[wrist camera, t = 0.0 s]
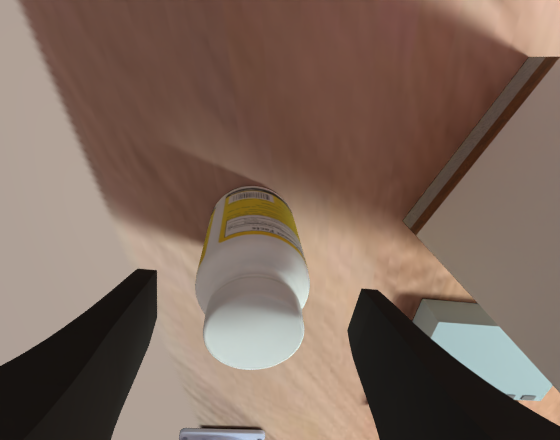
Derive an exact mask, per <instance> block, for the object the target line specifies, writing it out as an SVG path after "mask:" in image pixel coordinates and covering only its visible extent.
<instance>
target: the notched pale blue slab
mask: <svg viewBox="0 0 560 440" xmlns="http://www.w3.org/2000/svg"><path fill="white" fill-rule="evenodd" d="M412 322H413V323H414V324H415V325H417V326H418V327H419V328H420V329H421V330H422V331H423V332H424V333H425V334H427V335H428V336H429V337H430V338H431V339H432V340H433V341H435V342H436V343H437V344H438V345H439V346H441V347H442V348H443V349H444V350H445V351H447V352H448V353H449V354H450V355H452V356H453V357H454V358H455V359H457V360H458V361H459V362H461V363H462V364H463V365H465V366H466V367H467V368H469V369H470V370H471V371H473V372H474V373H475V374H477V375H478V376H480V377H481V378H482V379H484V380H485V381H487V382H488V383H490V384H491V385H493V386H494V387H495V388H497V389H499V390H500V391H502V392H503V393H505V394H506V395H508V396H509V397H511V398H512V399H514V400H533V401H541V400H542V398H543V397H544V396H545V395H546V393H547V392H548V391H549V390H550V388H551V387H552V386H553V385H552V384H551V383H550V381H549V380H548V379H547V378H546V377H545V376H544V375H543V374H542V373H541V372H540V371H539V369H538V368H537V367H536V366H535V365H534V364H533V363H532V362H531V361H530V360H529V359H528V357H527V356H526V355H525V354H524V353H523V352H522V351H521V350H520V349H519V348H518V347H517V345H516V344H515V343H514V342H513V341H512V340H511V339H510V338H509V337H508V336H507V335H506V333H505V332H504V331H503V330H502V329H501V328H500V327H499V326H498V325H497V324H496V322H495V321H494V320H493V319H492V318H491V317H490V316H489V315H488V314H487V313H486V312H485V310H484V309H483V308H482V307H481V306H480V305H479V304H478V303H466V302H454V301H443V300H431V299H422V301H421V303H420V306H419V308H418V310H417V312H416V314H415V317H414V319H413V321H412Z"/></svg>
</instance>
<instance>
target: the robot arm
mask: <svg viewBox="0 0 560 440" xmlns="http://www.w3.org/2000/svg"><path fill="white" fill-rule="evenodd" d="M156 319H157V270H146V269H137V270H135V271H134V272H133V273H132V274H131V275H129V276H128V277H127V278H126V279H125V280H124V281H122V282H121V283H120V284H119V285H118V286H117V287H115V288H114V289H113V290H112V291H111V292H109V293H108V294H107V295H106V296H104V297H103V298H102V299H101V300H100V301H98V302H97V303H96V304H94V305H93V306H92V307H91V308H89V309H88V310H87V311H85V312H84V313H83V314H81V315H80V316H79V317H77V318H76V319H75V320H73V321H72V322H70V323H69V324H68V325H66V326H65V327H64V328H62V329H61V330H59V331H58V332H56V333H55V334H53V335H52V336H50V337H49V338H48V339H46V340H44V341H43V342H41V343H39V344H38V345H36V346H35V347H33V348H31V349H30V350H28V351H27V352H25V353H23V354H21V355H20V356H18V357H16V358H14V359H13V360H11V361H9V362H7V363H5V364H3V365H2V366H0V440H111V437H112V434H113V431H114V428H115V425H116V423H117V420H118V417H119V415H120V412H121V410H122V407H123V405H124V402H125V400H126V398H127V396H128V393H129V391H130V389H131V386H132V384H133V381H134V379H135V377H136V375H137V372H138V370H139V367H140V365H141V363H142V360H143V358H144V356H145V353H146V351H147V348H148V346H149V343H150V340H151V336H152V333H153V329H154V326H155V322H156ZM347 331H348V336H349V342H350V347H351V351H352V356H353V360H354V363H355V366H356V369H357V372H358V375H359V378H360V381H361V383H362V386H363V389H364V392H365V395H366V398H367V401H368V404H369V407H370V410H371V413H372V415H373V418H374V422H375V425H376V428H377V432H378V435H379V439H380V440H560V426H558V425H556V424H555V423H553V422H551V421H549V420H547V419H546V418H544V417H542V416H540V415H539V414H537V413H535V412H534V411H532V410H530V409H529V408H527V407H525V406H524V405H522V404H520V403H519V402H517V401H516V400H514V399H512V398H511V397H509V396H508V395H506V394H505V393H503V392H502V391H500V390H499V389H497V388H495V387H494V386H493V385H491V384H490V383H488V382H487V381H485V380H484V379H482V378H481V377H480V376H478V375H477V374H475V373H474V372H473V371H471V370H470V369H469V368H467V367H466V366H465V365H463V364H462V363H461V362H459V361H458V360H457V359H455V358H454V357H453V356H452V355H450V354H449V353H448V352H447V351H445V350H444V349H443V348H442V347H441V346H439V345H438V344H437V343H436V342H435V341H433V340H432V339H431V338H430V337H429V336H428V335H427V334H425V333H424V332H423V331H422V330H421V329H420V328H419V327H418V326H417V325H415V324H414V323H413V322H412V321H411V320H410V319H409V318H408V317H407V316H406V315H405V314H404V313H402V312H401V311H400V310H399V309H398V308H397V307H396V306H395V305H394V304H393V303H392V302H391V301H390V300H388V299H387V298H386V297H385V296H384V295H383V294H382V293H381V292H379V291H378V290H372V289H361V292H360V295H359V298H358V301H357V304H356V307H355V310H354V312H353V315H352V318H351V321H350V324H349V327H348V330H347ZM264 439H265V432H264V431H263V430H242V429H202V428H183V429H182V430H181V431H180V435H179V440H264Z"/></svg>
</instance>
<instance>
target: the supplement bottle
mask: <svg viewBox="0 0 560 440" xmlns="http://www.w3.org/2000/svg"><path fill="white" fill-rule="evenodd" d="M309 288H310V280H309V274H308V269H307V265H306V261H305V258H304V254H303V251H302V247H301V243H300V240H299V236H298V232H297V229H296V225H295V222H294V218H293V215H292V212H291V210H290V208H289V206H288V205H287V203H286V202H285V201H284V199H283V198H282V197H280V196H279V195H278V194H277V193H275V192H273V191H272V190H269V189H267V188H264V187H259V186H245V187H240V188H237V189H234V190H232V191H230V192H229V193H227V194H226V195H224V196H223V197H222V198H221V199H220V200H219V201H218V203H217V204H216V206H215V207H214V209H213V212H212V214H211V218H210V221H209V225H208V230H207V234H206V238H205V242H204V246H203V250H202V254H201V259H200V262H199V267H198V271H197V275H196V284H195V290H196V297H197V300H198V303H199V305H200V307H201V309H202V310H203V312H204V313H205V321H204V328H203V338H204V342H205V345H206V347H207V349H208V351H209V352H210V353H211V354H212V355H213V356H214V357H215V358H216V359H217V360H218V361H220V362H222V363H223V364H226V365H228V366H231V367H234V368H238V369H244V370H257V369H264V368H269V367H272V366H275V365H277V364H279V363H281V362H283V361H285V360H286V359H288V358H289V357H291V356H292V355H293V354H294V353H295V352H296V350H297V349H298V348H299V346H300V344H301V342H302V340H303V336H304V323H303V317H302V308H303V307H304V305H305V303H306V301H307V298H308V294H309Z"/></svg>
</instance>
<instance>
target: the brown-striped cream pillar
mask: <svg viewBox="0 0 560 440" xmlns="http://www.w3.org/2000/svg"><path fill="white" fill-rule="evenodd" d="M403 222H404V223H405V224H406V225H407V226H408V227H409V229H410V230H411V231H412V232H413V233H414V234H415V235H416V236H417V237H418V238H419V239H420V241H421V242H422V243H423V244H424V245H425V246H426V247H427V248H428V249H429V250H430V251H431V253H432V254H433V255H434V256H435V257H436V258H437V259H438V260H439V261H440V262H441V263H442V265H443V266H444V267H445V268H446V269H447V270H448V271H449V272H450V273H451V274H452V275H453V277H454V278H455V279H456V280H457V281H458V282H459V283H460V284H461V285H462V286H463V288H464V289H465V290H466V291H467V292H468V293H469V294H470V295H471V296H472V297H473V298H474V300H475V301H476V302H477V303H478V304H479V305H480V306H481V307H482V308H483V309H484V310H485V312H486V313H487V314H488V315H489V316H490V317H491V318H492V319H493V320H494V321H495V322H496V324H497V325H498V326H499V327H500V328H501V329H502V330H503V331H504V332H505V333H506V335H507V336H508V337H509V338H510V339H511V340H512V341H513V342H514V343H515V344H516V345H517V347H518V348H519V349H520V350H521V351H522V352H523V353H524V354H525V355H526V356H527V357H528V359H529V360H530V361H531V362H532V363H533V364H534V365H535V366H536V367H537V368H538V369H539V371H540V372H541V373H542V374H543V375H544V376H545V377H546V378H547V379H548V380H549V381H550V383H551V384H552V385H553V386H554V387H555V388H556V389H557V390H558V391H559V392H560V57H529V58H528V59H527V60H526V62H525V63H524V64H523V66H522V67H521V68H520V69H519V71H518V72H517V73H516V75H515V76H514V77H513V79H512V80H511V81H510V82H509V84H508V85H507V86H506V88H505V89H504V90H503V91H502V93H501V94H500V95H499V97H498V98H497V99H496V101H495V102H494V103H493V104H492V106H491V107H490V108H489V110H488V111H487V112H486V113H485V115H484V116H483V117H482V119H481V120H480V121H479V123H478V124H477V125H476V126H475V128H474V129H473V130H472V132H471V133H470V134H469V136H468V137H467V138H466V139H465V141H464V142H463V143H462V145H461V146H460V147H459V148H458V150H457V151H456V152H455V154H454V155H453V156H452V158H451V159H450V160H449V161H448V163H447V164H446V165H445V167H444V168H443V169H442V170H441V172H440V173H439V174H438V176H437V177H436V178H435V180H434V181H433V182H432V183H431V185H430V186H429V187H428V189H427V190H426V191H425V193H424V194H423V195H422V196H421V198H420V199H419V200H418V202H417V203H416V204H415V205H414V207H413V208H412V209H411V211H410V212H409V213H408V215H407V216H406V217H405V218H404V220H403Z"/></svg>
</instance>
